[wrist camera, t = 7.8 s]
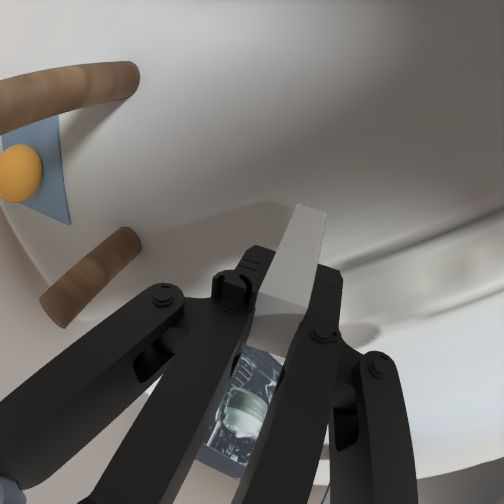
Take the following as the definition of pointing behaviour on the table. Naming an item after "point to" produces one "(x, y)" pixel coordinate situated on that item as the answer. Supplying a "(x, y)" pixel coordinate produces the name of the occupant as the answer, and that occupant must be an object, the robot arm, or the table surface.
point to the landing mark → (44, 166)
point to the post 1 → (63, 91)
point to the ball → (19, 172)
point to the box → (240, 414)
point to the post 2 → (89, 276)
